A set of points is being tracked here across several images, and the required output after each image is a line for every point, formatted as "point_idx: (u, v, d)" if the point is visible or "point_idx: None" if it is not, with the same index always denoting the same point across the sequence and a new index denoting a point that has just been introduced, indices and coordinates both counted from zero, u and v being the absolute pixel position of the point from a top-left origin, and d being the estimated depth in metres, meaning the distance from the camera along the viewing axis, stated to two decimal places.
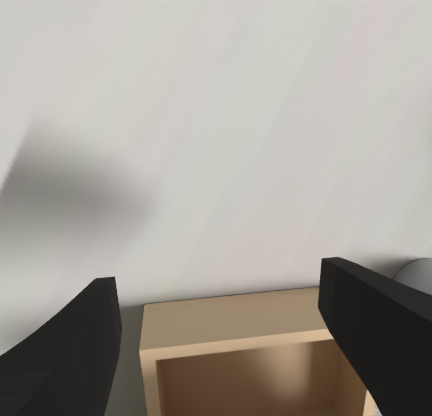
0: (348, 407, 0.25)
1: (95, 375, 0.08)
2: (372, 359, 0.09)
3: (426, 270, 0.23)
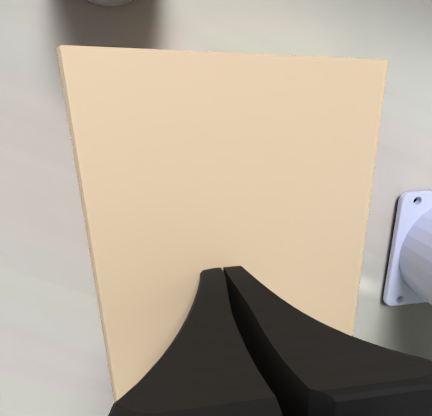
0: None
1: None
2: None
3: None
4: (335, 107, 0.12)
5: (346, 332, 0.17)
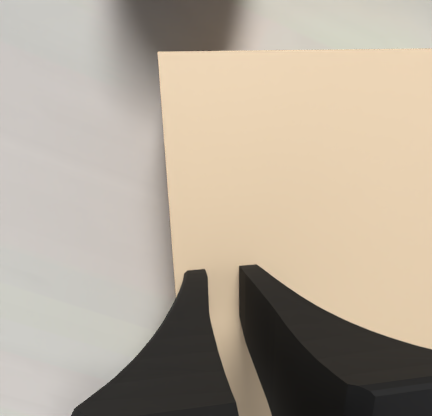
0: None
1: None
2: (269, 372, 0.09)
3: None
4: None
5: None
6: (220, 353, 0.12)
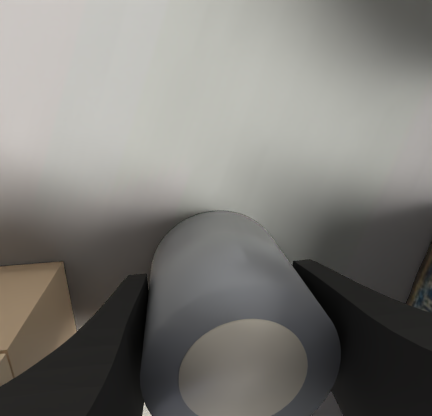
0: None
1: (136, 370, 0.09)
2: None
3: (192, 233, 0.11)
4: None
5: None
6: None
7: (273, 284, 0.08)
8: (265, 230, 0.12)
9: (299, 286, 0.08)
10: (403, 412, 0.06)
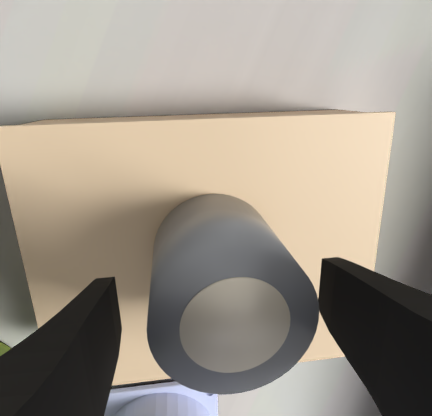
0: None
1: (94, 375, 0.08)
2: (372, 359, 0.09)
3: (195, 209, 0.12)
4: None
5: None
6: (141, 161, 0.13)
7: (266, 248, 0.09)
8: (259, 214, 0.14)
9: (287, 254, 0.10)
10: None
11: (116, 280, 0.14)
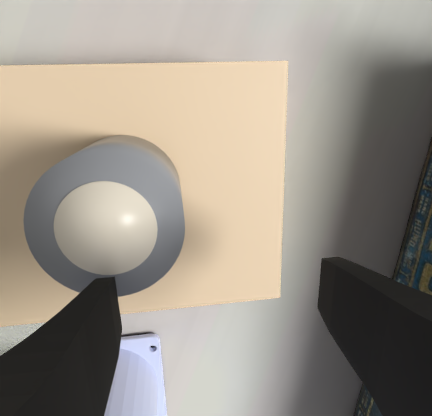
0: None
1: (94, 375, 0.08)
2: (372, 359, 0.09)
3: (95, 142, 0.13)
4: (250, 252, 0.17)
5: (33, 313, 0.17)
6: (51, 102, 0.14)
7: (126, 155, 0.10)
8: (164, 154, 0.15)
9: (153, 165, 0.11)
10: None
11: None
